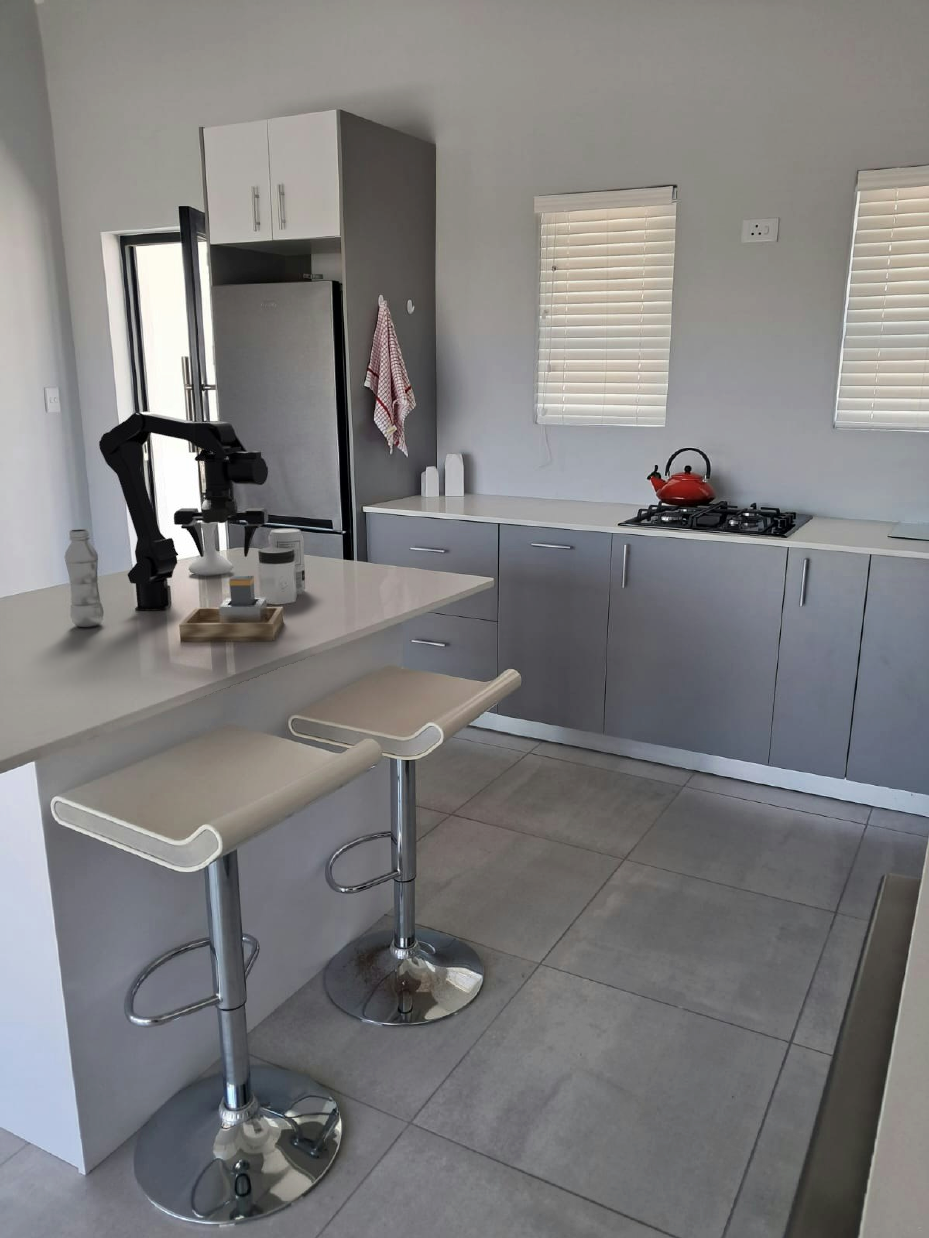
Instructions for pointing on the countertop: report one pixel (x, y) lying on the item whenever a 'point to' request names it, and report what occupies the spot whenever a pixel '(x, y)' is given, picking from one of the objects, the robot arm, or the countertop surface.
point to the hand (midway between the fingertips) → (224, 556)
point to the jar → (277, 575)
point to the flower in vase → (210, 556)
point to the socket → (243, 612)
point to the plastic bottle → (83, 580)
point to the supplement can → (295, 541)
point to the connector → (242, 590)
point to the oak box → (228, 627)
